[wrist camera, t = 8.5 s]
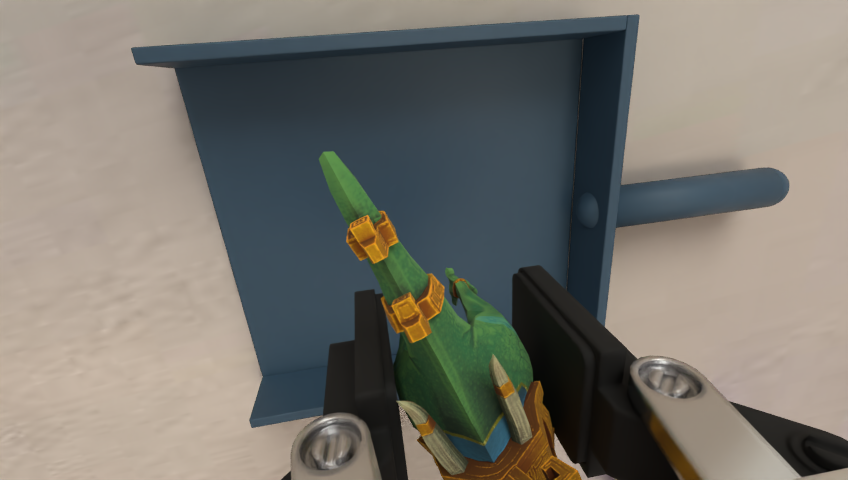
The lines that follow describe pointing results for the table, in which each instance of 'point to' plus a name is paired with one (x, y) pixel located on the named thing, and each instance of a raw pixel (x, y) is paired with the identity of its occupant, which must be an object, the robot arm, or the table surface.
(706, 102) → the table surface
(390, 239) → the figurine
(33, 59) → the table surface
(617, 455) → the robot arm
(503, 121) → the scoop
